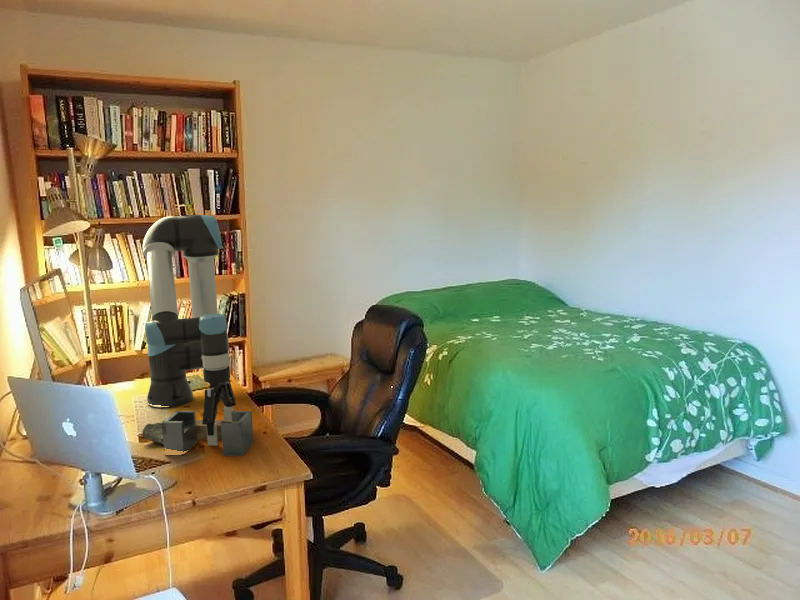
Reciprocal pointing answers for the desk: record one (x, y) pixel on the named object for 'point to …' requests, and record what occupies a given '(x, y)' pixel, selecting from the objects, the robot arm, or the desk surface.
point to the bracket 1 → (180, 431)
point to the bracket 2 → (237, 433)
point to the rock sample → (153, 432)
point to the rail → (203, 430)
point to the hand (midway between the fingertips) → (221, 436)
